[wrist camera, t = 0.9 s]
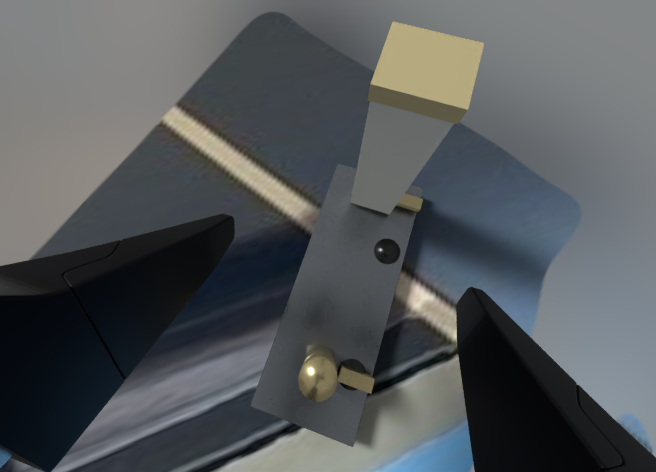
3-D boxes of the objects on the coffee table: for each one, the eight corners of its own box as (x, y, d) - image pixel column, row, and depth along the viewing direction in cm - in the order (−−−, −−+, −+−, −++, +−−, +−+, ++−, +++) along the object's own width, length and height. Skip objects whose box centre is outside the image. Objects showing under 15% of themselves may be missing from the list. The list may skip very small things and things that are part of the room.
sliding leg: (414, 224, 21) (527, 125, 9) (348, 204, 22) (370, 84, 10) (423, 191, 22) (540, 56, 10) (359, 172, 23) (392, 21, 10)
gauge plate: (351, 435, 19) (358, 489, 14) (256, 398, 20) (228, 435, 15) (417, 195, 24) (441, 166, 19) (337, 171, 25) (339, 136, 19)
